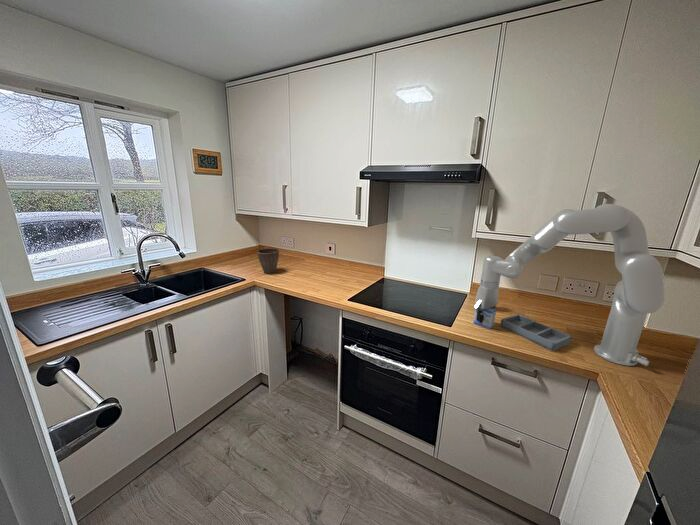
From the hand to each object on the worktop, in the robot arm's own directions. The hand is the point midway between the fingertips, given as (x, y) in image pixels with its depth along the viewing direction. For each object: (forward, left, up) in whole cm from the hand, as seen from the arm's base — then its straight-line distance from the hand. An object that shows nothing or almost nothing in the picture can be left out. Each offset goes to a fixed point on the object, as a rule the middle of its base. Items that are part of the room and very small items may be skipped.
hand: (483, 319), depth 132 cm
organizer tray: (-16, -12, -3) cm, 20 cm away
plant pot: (+122, +71, -3) cm, 141 cm away
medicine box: (0, 0, -3) cm, 3 cm away
